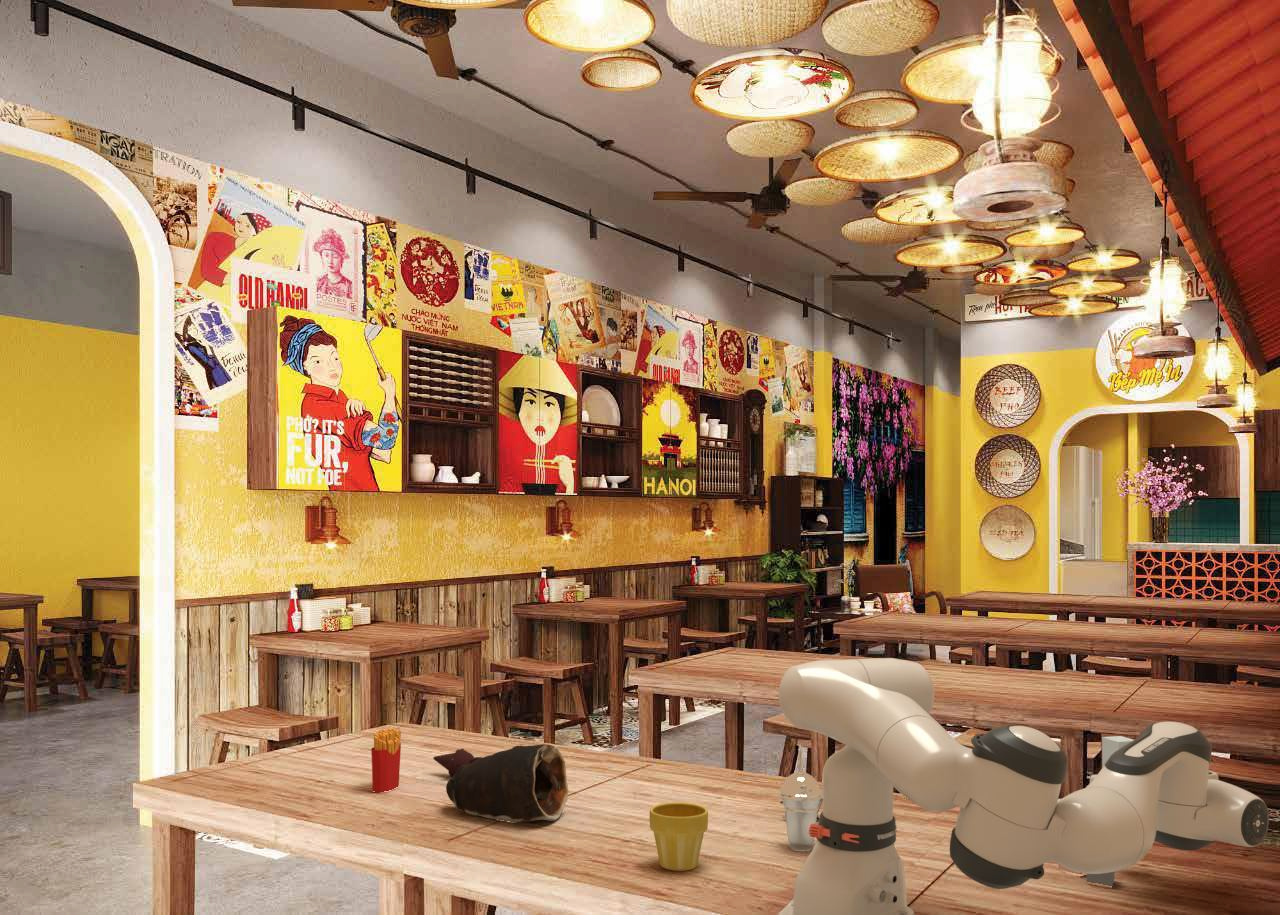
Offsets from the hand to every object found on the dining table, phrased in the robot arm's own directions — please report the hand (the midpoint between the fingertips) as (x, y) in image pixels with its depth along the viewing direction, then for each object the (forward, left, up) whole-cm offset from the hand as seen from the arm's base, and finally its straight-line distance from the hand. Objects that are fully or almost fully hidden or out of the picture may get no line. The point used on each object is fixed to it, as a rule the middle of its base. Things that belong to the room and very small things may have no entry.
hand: (1116, 774), depth 188 cm
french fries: (-46, +144, -17) cm, 152 cm away
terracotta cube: (-5, +6, -17) cm, 18 cm away
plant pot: (-46, +62, -17) cm, 79 cm away
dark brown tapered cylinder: (-44, +109, -17) cm, 119 cm away
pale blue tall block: (-1, -1, -10) cm, 10 cm away
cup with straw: (-24, +50, -17) cm, 58 cm away
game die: (-7, +59, -17) cm, 61 cm away
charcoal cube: (-8, +1, -17) cm, 19 cm away
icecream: (-29, +138, -17) cm, 142 cm away
